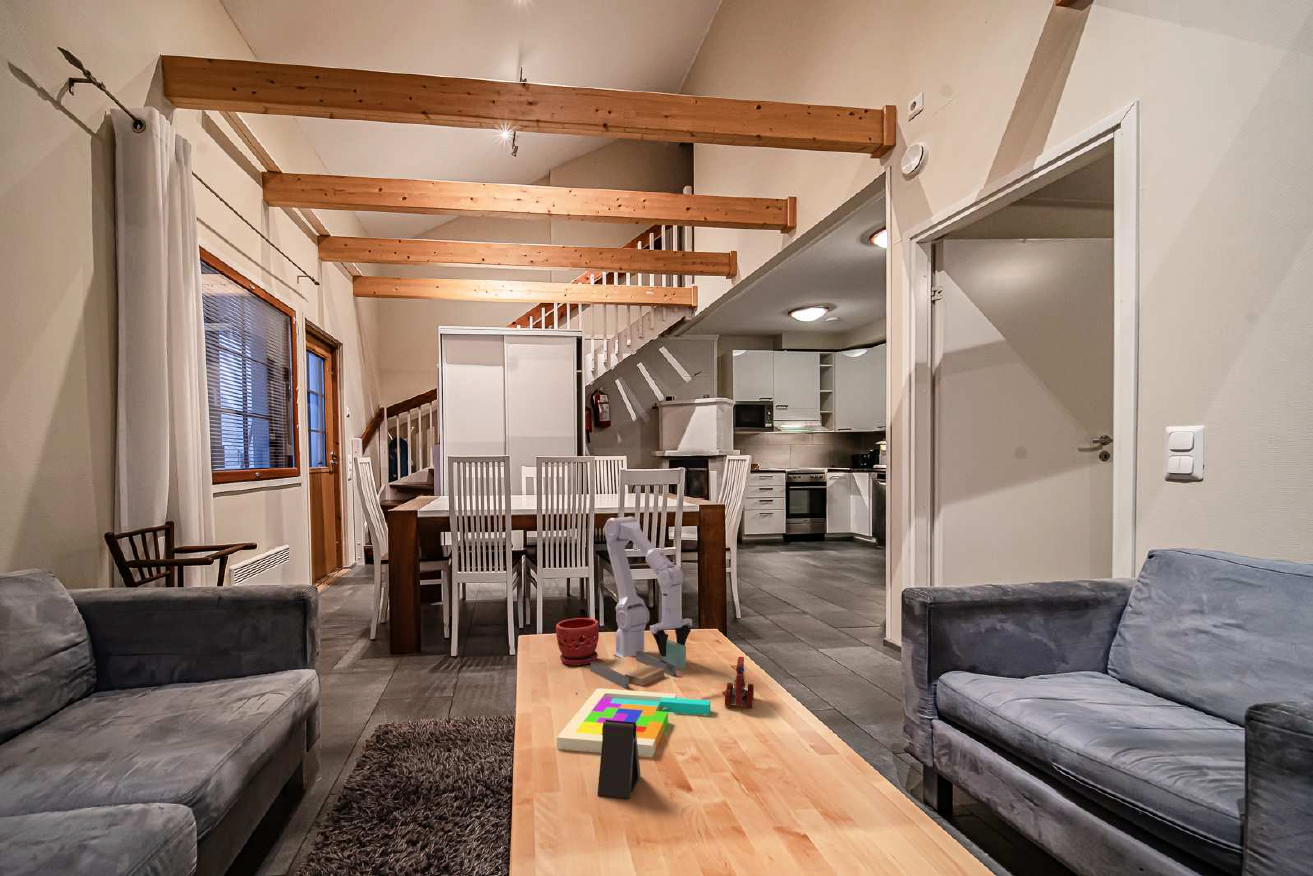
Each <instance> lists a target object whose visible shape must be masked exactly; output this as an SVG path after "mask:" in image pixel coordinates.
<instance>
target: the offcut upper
mask: <svg viewBox="0 0 1313 876" xmlns="http://www.w3.org/2000/svg"><path fill="white" fill-rule="evenodd" d="M624 676H626V677H629V684H632V685H633V684H635V685H634V686H636V685H639V686H638V687H644V686H646V685H648V684H650V683H652V681H653V682H656V681H658V680H657V679H659V678H661V677H665V673H664V669H662V668H658V667H654V666H650V665H644V666H641V667H639V668H636V669H635V670H632V671H630V672H627V673H625V674H624ZM655 680H656V681H655Z"/></svg>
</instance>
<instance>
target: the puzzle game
mask: <svg viewBox="0 0 1313 876" xmlns="http://www.w3.org/2000/svg"><path fill="white" fill-rule="evenodd" d="M661 707H666V708H662V709H660V708H661ZM668 712H673V714H682V713H684V714H685V715H695V714H706V715H705V716H708V715H709V716H710V714H709V713H711V700H709V699H708V700H707V699H695V698H694V699H693V698H680V697H678V698H677V693H671V692H657V691H642V690H641V691H640V690H629V689H612V688H601V687H600V688H596V689H595V690H594V691H593V693H592V694H591V695H590V697H589V698H588V699H587V700H586V701H585V703H584V704H583V705H582V706H581V707H580V708H579V710H578V711H577V712H576V713H575V715H574V716H573V717H572V718H571V720H570V721H569V722H568V723H567V725H565V727H564V728H563V729H562V730H561V732H560V733H559V734H558V735H557V737H556V749H557V750H563V749H565V751H574V752H585V751H591V752H590V753H596V752H601V750H602V728H603V723H604V722H606V721H605V720H615V721H626V722H636V727H637V729H636V736H637V746H638V755H639V757H640V756H642V757H641V758H653V757H654V755H655V752H656V750H657V748H658V746H659V743H660V741H661V740H662V737H663V736H664V735H663V734H664V733H663V732H665V731H666V729H667V726H668V724H667V723H669V713H668Z"/></svg>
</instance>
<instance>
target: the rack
mask: <svg viewBox="0 0 1313 876" xmlns="http://www.w3.org/2000/svg"><path fill="white" fill-rule="evenodd" d="M635 657H636V662H639V663H640V664H642V665H643V664H644V666H646V665H650V666H654V667H658V668H662V669H664V674H666V675H668V676H670V677H677V668H676V666H675V665H672V664H670V663H668V662H665V661H663V660H660V658H658V657H655V656H653V655H650V654H648V653H645V652H644V653H643V652H641V651H637V652H636V656H635ZM590 672H591V673H594V674H596V675H597V676H600V677H601V678H603V679H605V680H607V681H609V682H610V683H613V684H614V685H617V686H619V687H621V688H622V689H623V690H628V689H630V683H629V677H626V676H625V674H623V673H620V672H618V671H616V670H614V669H612V668H610V667H608V666H606V665H604V664H602V663H599V662H597V661H596V660H595V661H592V662H591V663H590Z"/></svg>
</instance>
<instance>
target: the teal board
mask: <svg viewBox="0 0 1313 876" xmlns="http://www.w3.org/2000/svg"><path fill="white" fill-rule="evenodd" d="M659 659H660V660H663V661H665V662H668V663H670V664H672V665H675V666H676V669H679V670H683V669H686V668H687V646H686V645H685V646H684V645H681V644H678V643H677V641H676V642H675V641H672V640H670V639H667V644H666V656H665V657H663V656H661V655H660V654H659Z"/></svg>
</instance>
